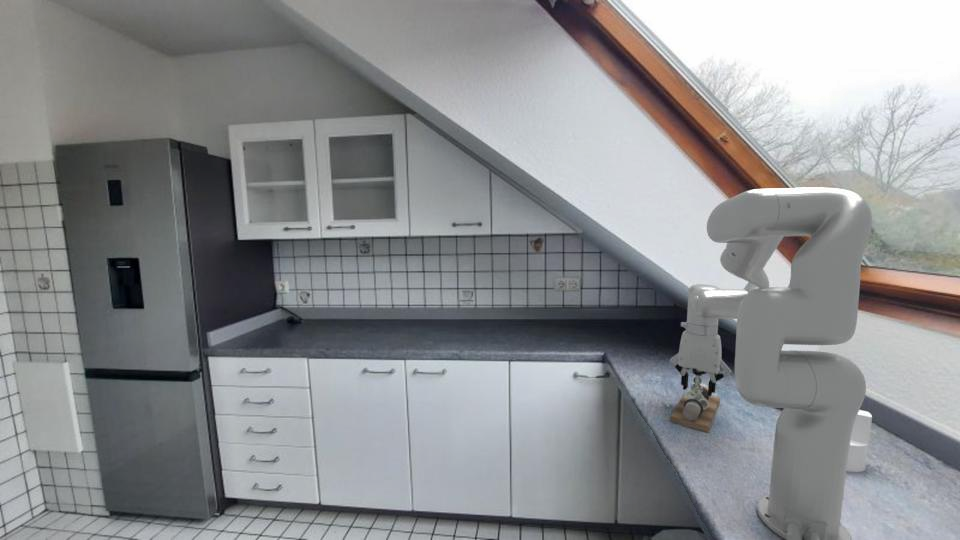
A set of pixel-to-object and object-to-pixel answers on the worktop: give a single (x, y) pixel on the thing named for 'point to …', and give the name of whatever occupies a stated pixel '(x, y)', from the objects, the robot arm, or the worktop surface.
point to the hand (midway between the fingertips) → (697, 390)
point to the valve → (697, 389)
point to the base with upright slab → (859, 442)
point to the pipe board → (701, 419)
